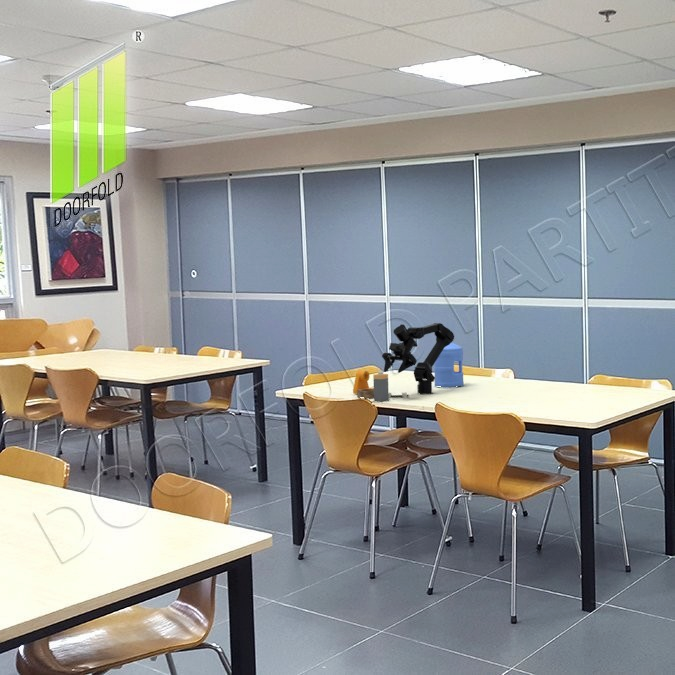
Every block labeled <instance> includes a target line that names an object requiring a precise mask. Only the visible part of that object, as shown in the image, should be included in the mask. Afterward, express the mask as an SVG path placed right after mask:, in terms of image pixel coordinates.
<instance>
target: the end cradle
mask: <svg viewBox="0 0 675 675" xmlns="http://www.w3.org/2000/svg"><path fill="white" fill-rule="evenodd" d="M356 395H357V398H358V399H360V397H364V398H369V399H368V400H374V399H373V398H374V389H357V394H356Z"/></svg>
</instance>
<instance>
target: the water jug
mask: <svg viewBox="0 0 675 675" xmlns="http://www.w3.org/2000/svg"><path fill="white" fill-rule="evenodd" d="M463 358H464V350H463V347H462V346H461V345H458V344H456V343H454V342H453V341H452V342H451V344H449V345H448V346H446V347H445V348H444V349H443V351H442V352H441V354H440V355H439V357H438V358H437V360H436V362H435V363H434V365H433V370H434V372H433V373H434V377H435V379H434V387H436V386H441V387H456V386H462V387H463V386H464V385H465V384H464V382H465V381H464V371H463ZM455 362H458V371H455V365H454V364H455ZM456 388H457V387H456Z"/></svg>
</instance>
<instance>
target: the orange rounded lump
mask: <svg viewBox="0 0 675 675" xmlns="http://www.w3.org/2000/svg"><path fill="white" fill-rule="evenodd" d="M369 380H370V373H369V371H366V370H358V371H357V372H356V374H355V378H354V383H353V390H352V393H353V394H356V395H357V389H374V387H370V385H369V382H368V381H369Z"/></svg>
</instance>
